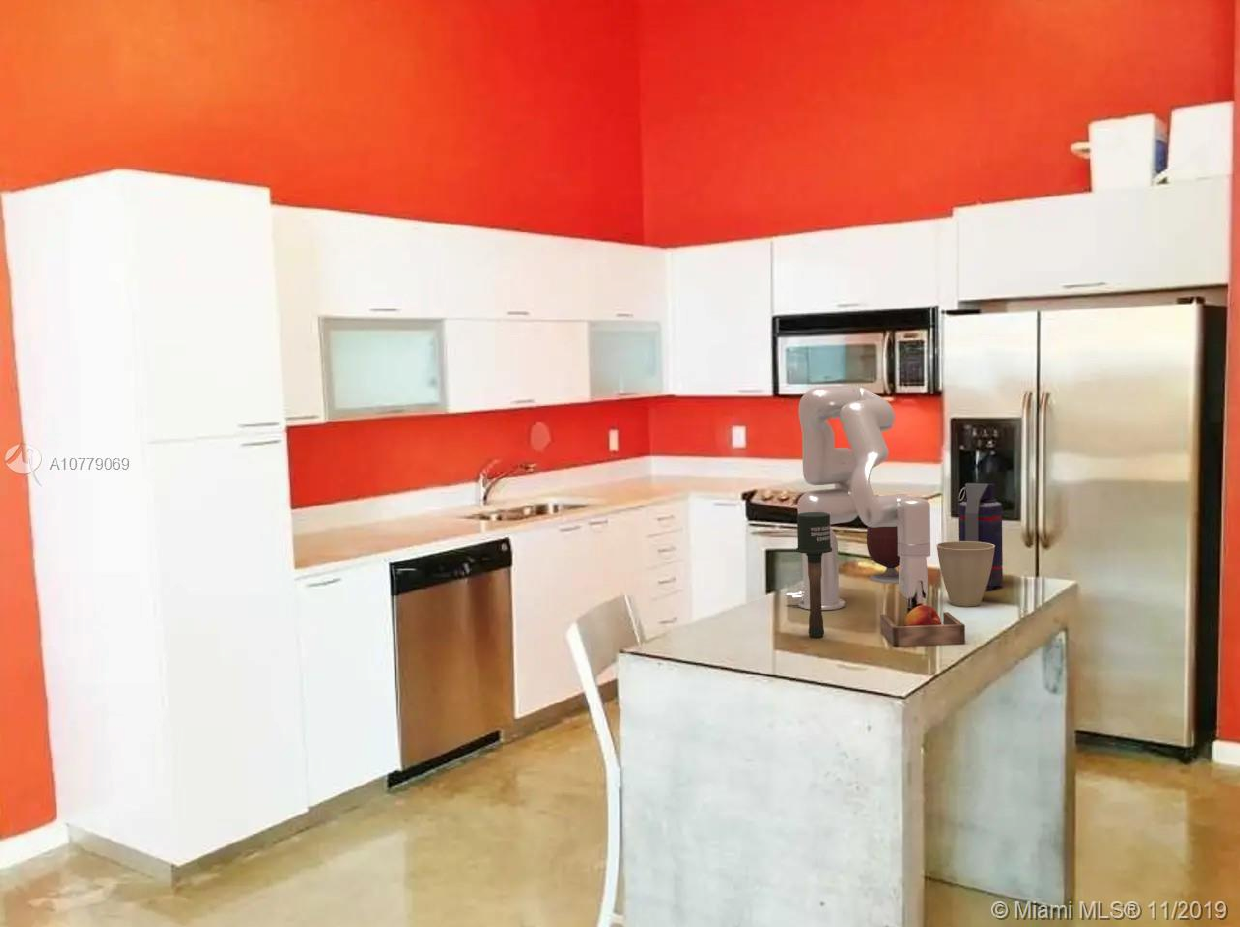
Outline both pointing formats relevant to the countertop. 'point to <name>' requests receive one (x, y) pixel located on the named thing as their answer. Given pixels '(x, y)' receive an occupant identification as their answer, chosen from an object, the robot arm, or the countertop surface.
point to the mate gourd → (884, 552)
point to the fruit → (922, 616)
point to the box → (924, 633)
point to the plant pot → (965, 570)
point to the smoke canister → (983, 524)
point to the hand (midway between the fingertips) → (914, 624)
